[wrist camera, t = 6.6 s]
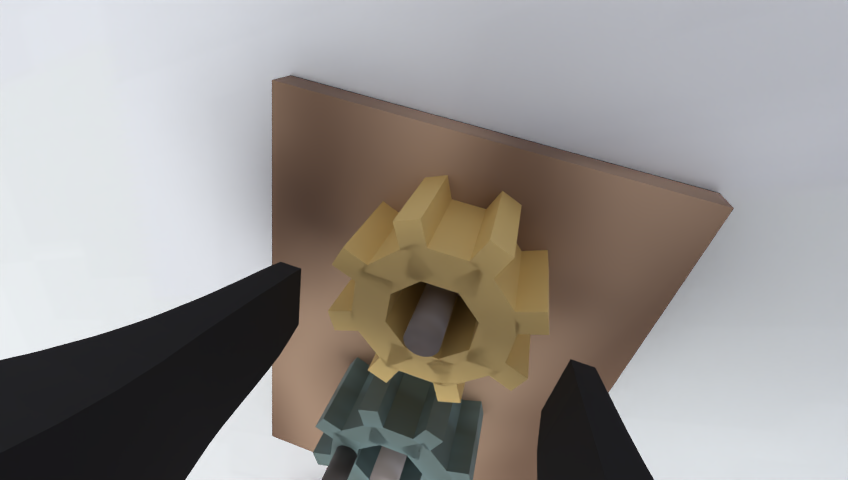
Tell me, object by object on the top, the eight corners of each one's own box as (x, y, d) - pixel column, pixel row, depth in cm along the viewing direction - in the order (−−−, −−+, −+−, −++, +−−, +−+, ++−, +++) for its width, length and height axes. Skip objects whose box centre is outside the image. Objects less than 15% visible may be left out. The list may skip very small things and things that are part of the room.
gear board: (719, 193, 11) (841, 321, 7) (515, 509, 21) (506, 654, 16) (290, 75, 13) (143, 112, 8) (282, 419, 22) (212, 527, 18)
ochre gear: (574, 210, 11) (582, 267, 9) (512, 353, 14) (505, 425, 12) (381, 156, 12) (337, 193, 10) (360, 302, 15) (323, 360, 13)
